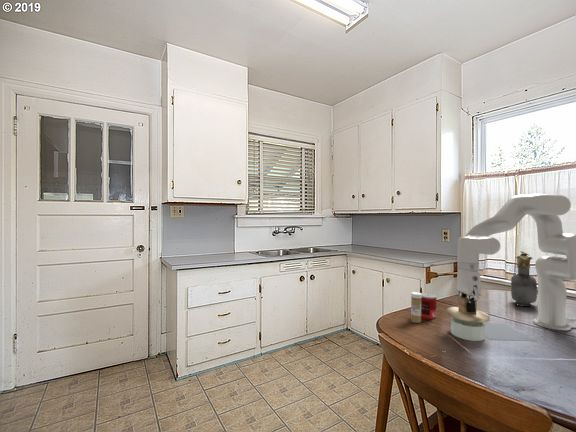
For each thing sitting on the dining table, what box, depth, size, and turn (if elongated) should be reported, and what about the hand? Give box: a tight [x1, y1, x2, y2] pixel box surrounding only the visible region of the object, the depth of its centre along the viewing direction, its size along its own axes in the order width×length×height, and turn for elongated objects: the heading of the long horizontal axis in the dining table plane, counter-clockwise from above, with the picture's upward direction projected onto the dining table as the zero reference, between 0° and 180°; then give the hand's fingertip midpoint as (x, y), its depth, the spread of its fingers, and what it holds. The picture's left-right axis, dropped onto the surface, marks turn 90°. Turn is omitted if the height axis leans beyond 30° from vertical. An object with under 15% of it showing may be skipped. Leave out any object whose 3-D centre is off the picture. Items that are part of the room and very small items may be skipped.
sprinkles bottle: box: [410, 291, 422, 324], centre depth 134 cm, size 5×5×14 cm
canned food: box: [420, 292, 438, 321], centre depth 140 cm, size 8×8×11 cm
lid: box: [446, 296, 490, 323], centre depth 119 cm, size 15×15×7 cm
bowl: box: [450, 316, 486, 342], centre depth 119 cm, size 12×12×6 cm
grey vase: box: [510, 250, 538, 307], centre depth 161 cm, size 11×19×30 cm, turn 145°
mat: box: [484, 322, 537, 342], centre depth 122 cm, size 18×18×1 cm
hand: (467, 309), depth 119 cm, fingers closed on lid, 4 cm apart
